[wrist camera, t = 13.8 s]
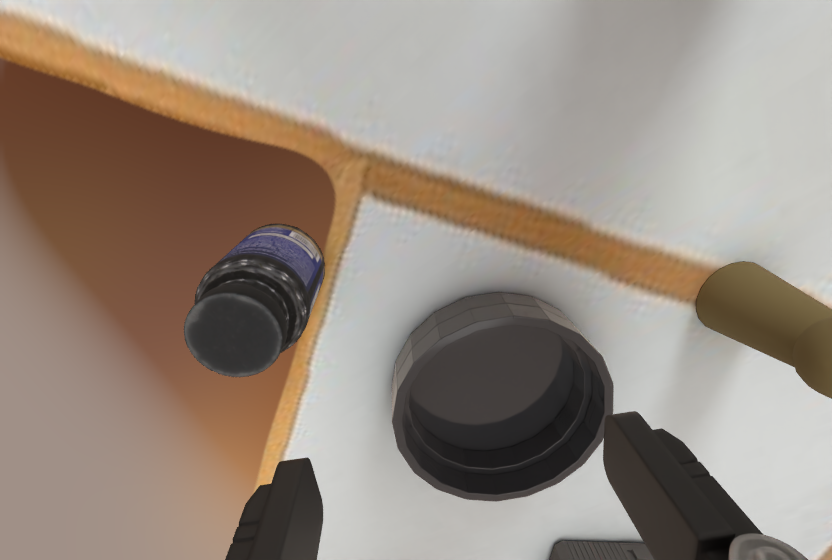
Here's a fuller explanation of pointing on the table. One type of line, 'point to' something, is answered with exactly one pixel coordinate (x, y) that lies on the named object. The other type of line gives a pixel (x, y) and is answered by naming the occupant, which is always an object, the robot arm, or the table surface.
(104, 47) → the table surface
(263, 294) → the pill bottle
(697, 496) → the robot arm
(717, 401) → the table surface
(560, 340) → the pan
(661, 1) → the table surface
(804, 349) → the olive brown knobbed cylinder
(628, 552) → the walkie-talkie
